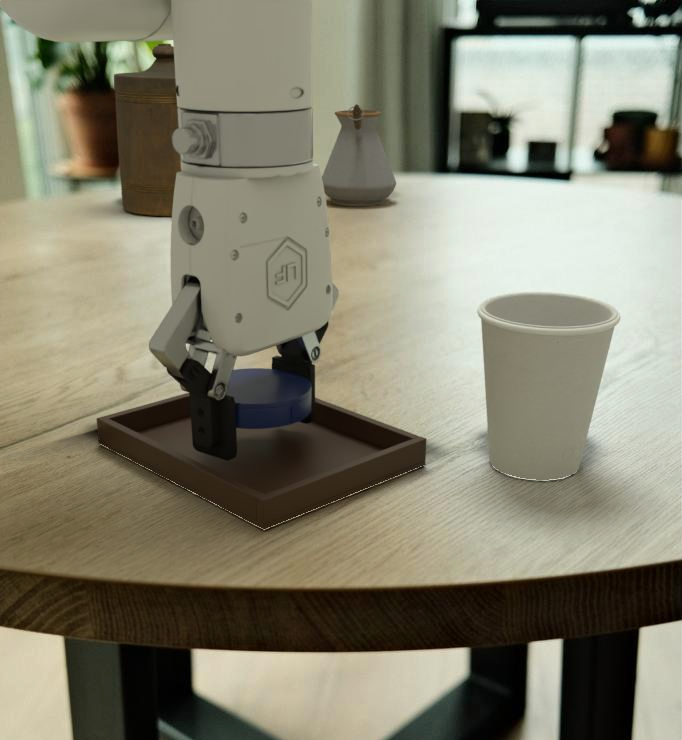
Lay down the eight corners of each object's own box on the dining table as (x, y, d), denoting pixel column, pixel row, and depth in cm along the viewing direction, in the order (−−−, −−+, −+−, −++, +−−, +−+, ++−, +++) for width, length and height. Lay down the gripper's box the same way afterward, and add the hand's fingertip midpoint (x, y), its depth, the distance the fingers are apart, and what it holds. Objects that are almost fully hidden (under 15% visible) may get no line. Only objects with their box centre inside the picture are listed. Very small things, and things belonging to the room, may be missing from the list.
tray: (98, 444, 67) (95, 418, 67) (254, 398, 76) (253, 374, 75) (264, 531, 56) (263, 500, 55) (425, 466, 64) (426, 438, 63)
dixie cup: (441, 459, 65) (448, 306, 61) (527, 429, 70) (540, 284, 66) (541, 503, 59) (557, 336, 55) (628, 467, 64) (650, 311, 60)
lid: (335, 411, 64) (335, 387, 64) (247, 438, 60) (247, 412, 59) (263, 384, 69) (263, 361, 68) (177, 407, 65) (176, 383, 64)
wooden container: (244, 209, 148) (238, 43, 139) (154, 220, 140) (141, 45, 130) (191, 196, 159) (182, 41, 149) (105, 206, 151) (89, 43, 141)
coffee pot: (322, 195, 160) (321, 93, 153) (395, 196, 159) (398, 93, 153) (313, 220, 141) (312, 104, 134) (396, 221, 140) (399, 105, 134)
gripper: (185, 164, 49) (204, 497, 57) (388, 134, 62) (381, 410, 70) (82, 152, 53) (113, 464, 61) (292, 126, 66) (295, 388, 74)
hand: (256, 433), depth 65 cm, fingers closed on lid, 7 cm apart
